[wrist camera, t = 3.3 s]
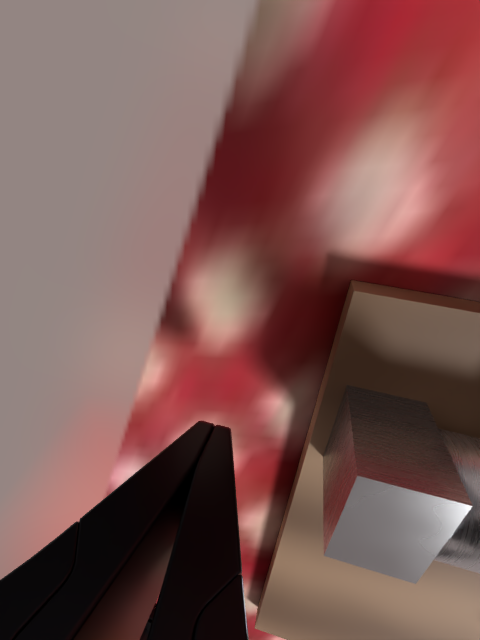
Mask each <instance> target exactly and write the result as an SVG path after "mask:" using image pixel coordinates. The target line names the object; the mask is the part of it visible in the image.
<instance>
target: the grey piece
mask: <svg viewBox="0 0 480 640" xmlns="http://www.w3.org/2000/svg"><path fill="white" fill-rule="evenodd" d="M323 543H324V556H326V557H329V558H332V559H336V560H339V561H342V562H345V563H349V564H352V565H355V566H358V567H362V568H365V569H368V570H371V571H375V572H378V573H381V574H384V575H388V576H391V577H394V578H397V579H401V580H404V581H407V582H410V583H414V584H416V583H417V582H418V580H419V579H420V578H421V576H422V575H423V574H424V572H425V571H426V570H427V568H428V567H429V565H430V564H431V563H432V561H433V560H435V561H438V562H442V563H445V564H448V565H452V566H455V567H459V568H462V569H465V570H469V571H472V572H476V573H479V574H480V438H477V437H473V436H468V435H464V434H460V433H455V432H451V431H447V430H442V429H438V427H437V425H436V423H435V420H434V418H433V416H432V414H431V411H430V409H429V407H428V405H427V403H426V402H422V401H417V400H413V399H408V398H404V397H399V396H395V395H390V394H386V393H381V392H377V391H372V390H368V389H363V388H359V387H354V386H350V385H347V386H346V389H345V392H344V395H343V398H342V401H341V404H340V407H339V410H338V413H337V416H336V419H335V422H334V425H333V428H332V431H331V434H330V437H329V440H328V443H327V446H326V449H325V452H324V455H323Z"/></svg>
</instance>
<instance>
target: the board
mask: <svg viewBox="0 0 480 640" xmlns="http://www.w3.org/2000/svg"><path fill="white" fill-rule="evenodd" d="M347 385H350V386H354V387H359V388H363V389H368V390H372V391H377V392H381V393H386V394H390V395H395V396H399V397H404V398H408V399H413V400H417V401H422V402H426V403H427V405H428V407H429V409H430V411H431V414H432V416H433V418H434V420H435V423H436V425H437V427H438V429H442V430H447V431H451V432H455V433H460V434H464V435H468V436H473V437H477V438H480V302H477V301H471V300H465V299H460V298H454V297H448V296H442V295H436V294H430V293H425V292H419V291H413V290H407V289H401V288H396V287H390V286H384V285H378V284H372V283H366V282H361V281H355V280H351V282H350V286H349V289H348V293H347V296H346V300H345V303H344V307H343V310H342V314H341V317H340V321H339V324H338V328H337V331H336V335H335V338H334V342H333V345H332V349H331V352H330V356H329V359H328V363H327V366H326V370H325V373H324V377H323V381H322V384H321V388H320V391H319V395H318V398H317V402H316V405H315V409H314V412H313V416H312V419H311V423H310V426H309V430H308V433H307V437H306V440H305V444H304V447H303V451H302V454H301V458H300V461H299V465H298V468H297V472H296V475H295V479H294V482H293V486H292V489H291V493H290V496H289V500H288V503H287V507H286V510H285V514H284V517H283V521H282V524H281V528H280V531H279V535H278V538H277V542H276V546H275V549H274V553H273V556H272V560H271V563H270V567H269V570H268V574H267V577H266V581H265V584H264V588H263V591H262V595H261V598H260V602H259V605H258V609H257V616H256V623H255V629H258V630H261V631H264V632H267V633H270V634H272V635H275V636H278V637H281V638H284V639H287V640H480V574H479V573H476V572H472V571H469V570H465V569H462V568H459V567H455V566H452V565H448V564H445V563H442V562H438V561H435V560H433V561H432V563H431V564H430V565H429V567H428V568H427V570H426V571H425V572H424V574H423V575H422V576H421V578H420V579H419V580H418V582H417V583H416V584H414V583H410V582H407V581H404V580H401V579H397V578H394V577H391V576H388V575H384V574H381V573H378V572H375V571H371V570H368V569H365V568H362V567H358V566H355V565H352V564H349V563H345V562H342V561H339V560H336V559H332V558H329V557H326V556H324V543H323V455H324V452H325V449H326V446H327V443H328V440H329V437H330V434H331V431H332V428H333V425H334V422H335V419H336V416H337V413H338V410H339V407H340V404H341V401H342V398H343V395H344V392H345V389H346V386H347Z"/></svg>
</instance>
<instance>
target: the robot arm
mask: <svg viewBox="0 0 480 640" xmlns="http://www.w3.org/2000/svg"><path fill="white" fill-rule="evenodd" d="M241 574H242V564H241V551H240V538H239V526H238V513H237V500H236V487H235V474H234V461H233V448H232V436H231V429H230V428H229V427H225V426H221V425H216V426H215V425H214V424H213V423H209V422H205V421H199V422H197V423H196V424H195V425H194V426H192V427H191V428H190V429H189V430H187V431H186V432H185V433H184V434H183V435H181V436H180V437H179V438H178V439H176V440H175V441H174V442H173V443H172V444H170V445H169V446H168V447H167V448H166V449H164V450H163V451H162V452H161V453H159V454H158V455H157V456H156V457H155V458H153V459H152V460H151V461H150V462H148V463H147V464H146V465H145V466H144V467H142V468H141V469H140V470H139V471H138V472H136V473H135V474H134V475H133V476H131V477H130V478H129V479H128V480H127V481H125V482H124V483H123V484H122V485H120V486H119V487H118V488H117V489H116V490H114V491H113V492H112V493H111V494H110V495H108V496H107V497H106V498H105V499H103V500H102V501H101V502H100V503H99V504H97V505H96V506H95V507H94V508H93V509H91V510H90V511H89V512H88V513H86V514H85V515H84V516H83V517H82V518H80V521H79V522H75V523H74V524H73V525H71V526H70V527H69V528H68V529H67V530H65V531H64V532H63V533H62V534H61V535H59V536H58V537H57V538H56V539H55V540H53V541H52V542H50V543H49V544H48V545H47V546H45V547H44V548H43V549H42V550H40V551H39V552H38V553H37V554H35V555H34V556H33V557H31V558H30V559H29V560H27V561H26V562H25V563H23V564H22V565H20V566H19V567H18V568H16V569H15V570H13V571H12V572H11V573H9V574H8V575H7V576H5V577H4V578H2V579H1V580H0V640H249V638H248V629H247V620H246V610H245V601H244V588H243V577H242V575H241ZM159 593H160V594H159ZM158 596H159V598H158ZM157 598H158V602H157V605H156V609H153V607H154V605H155V603H156V600H157Z"/></svg>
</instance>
